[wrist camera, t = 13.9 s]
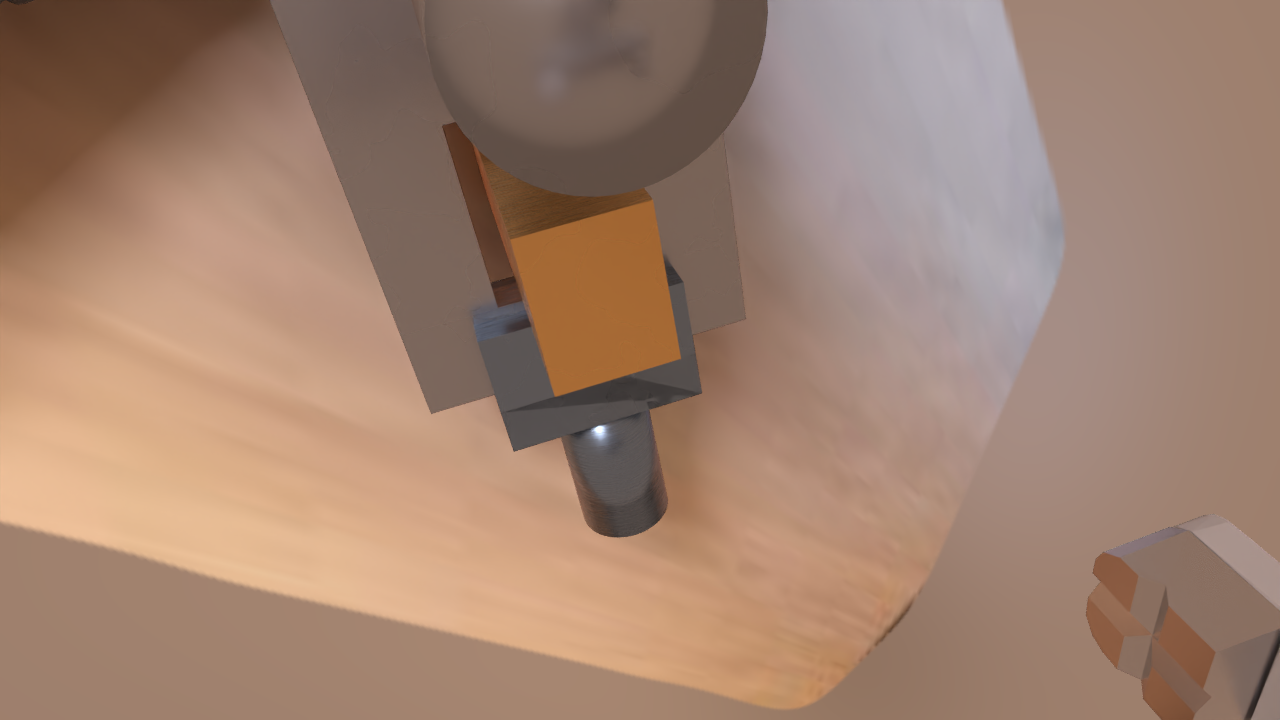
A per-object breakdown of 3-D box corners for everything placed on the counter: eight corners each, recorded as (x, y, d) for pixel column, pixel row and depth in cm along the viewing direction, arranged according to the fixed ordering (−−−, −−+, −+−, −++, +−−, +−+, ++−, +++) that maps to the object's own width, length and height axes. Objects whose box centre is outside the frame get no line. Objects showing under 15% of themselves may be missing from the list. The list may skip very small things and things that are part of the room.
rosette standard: (212, -240, 22) (-74, -319, 7) (598, -317, 23) (1020, -519, 9) (470, 455, 35) (554, 930, 20) (709, 381, 36) (952, 779, 21)
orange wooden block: (454, 82, 27) (509, 239, 18) (547, 59, 28) (652, 199, 18) (488, 200, 30) (554, 396, 20) (574, 177, 30) (681, 358, 20)
